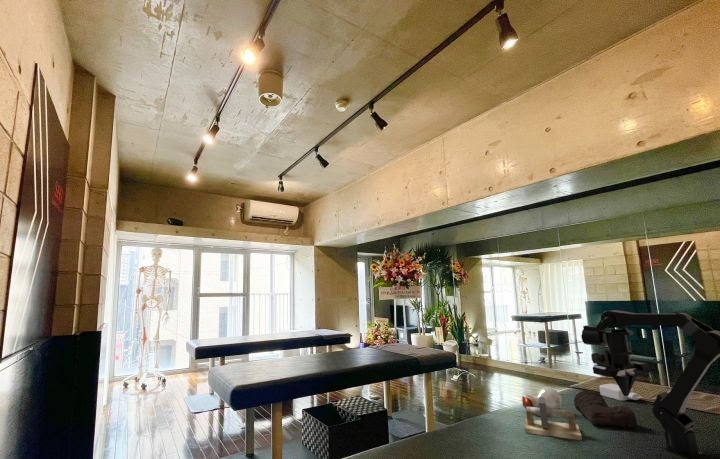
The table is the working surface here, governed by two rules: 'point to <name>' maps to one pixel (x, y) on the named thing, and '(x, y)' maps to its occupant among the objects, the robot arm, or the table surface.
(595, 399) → the brown curved lump
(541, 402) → the collar
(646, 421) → the table surface
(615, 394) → the charger
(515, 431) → the table surface
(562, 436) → the pipe rig
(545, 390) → the potion bottle
